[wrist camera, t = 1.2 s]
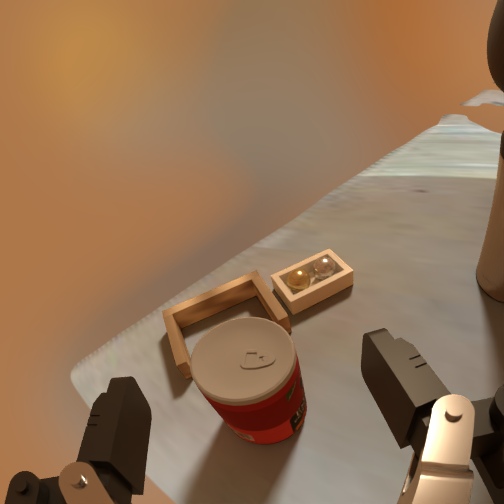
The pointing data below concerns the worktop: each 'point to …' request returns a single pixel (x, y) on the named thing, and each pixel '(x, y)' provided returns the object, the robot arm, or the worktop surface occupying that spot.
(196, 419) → the worktop surface
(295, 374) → the canned food
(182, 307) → the birch holder
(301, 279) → the brass ball
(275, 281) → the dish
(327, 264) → the steel ball
